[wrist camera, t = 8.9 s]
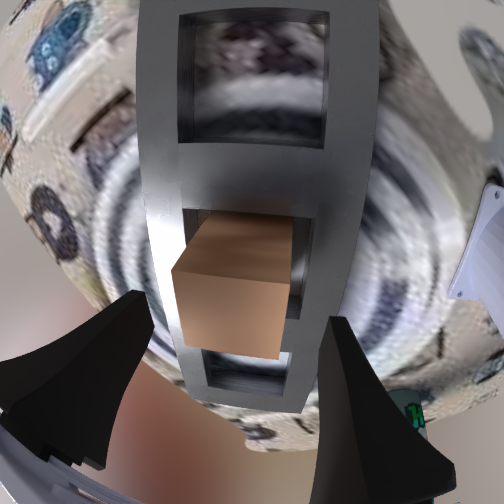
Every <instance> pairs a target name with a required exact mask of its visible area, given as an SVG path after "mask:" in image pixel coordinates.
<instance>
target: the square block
mask: <svg viewBox="0 0 504 504" xmlns="http://www.w3.org/2000/svg"><path fill="white" fill-rule="evenodd" d="M292 232H293V216H284V215H273V214H262V213H249V212H236V211H221V210H212V211H211V212H210V214H209V215H208V217H207V218H206V219H205V221H204V222H203V224H202V225H201V226H200V228H199V229H198V231H197V232H196V233H195V235H194V236H193V238H192V239H191V241H190V242H189V244H188V245H187V246H186V248H185V249H184V251H183V252H182V254H181V255H180V257H179V258H178V260H177V261H176V263H175V264H174V266H173V267H172V269H171V270H170V271H171V277H172V283H173V288H174V294H175V299H176V304H177V310H178V315H179V319H180V324H181V329H182V334H183V338H184V342H185V346H189V347H194V348H200V349H205V350H211V351H217V352H223V353H229V354H236V355H243V356H250V357H258V358H266V359H275V360H278V359H279V353H280V347H281V341H282V335H283V329H284V323H285V316H286V310H287V303H288V296H289V289H290V279H291V258H292Z"/></svg>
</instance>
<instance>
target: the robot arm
mask: <svg viewBox="0 0 504 504" xmlns="http://www.w3.org/2000/svg"><path fill="white" fill-rule="evenodd" d="M496 191H497V194H496V196H495V193H496ZM447 293H448V296H449V298H450V299H460V300H481V301H482V303H483V304H484V306H485V308H486V309H487V311H488V312H489V314H490V316H491V317H492V319H493V321H494V323H495V324H496V326H497V328H498V330H499V332H500V333H501V335H502V337H503V339H504V188H503V187H501V186H498V185H496V184H493V183H488V184H487V185H486V186H485V188H484V192H483V196H482V199H481V203H480V207H479V210H478V214H477V217H476V220H475V223H474V226H473V230H472V232H471V235H470V238H469V241H468V244H467V247H466V249H465V252H464V254H463V257H462V260H461V262H460V264H459V267H458V269H457V272H456V274H455V276H454V279H453V281H452V283H451V285H450V287H449V289H448V292H447ZM154 327H155V326H154V323H153V320H152V316H151V313H150V310H149V306H148V302H147V299H146V295H145V292H143V291H138V290H131V291H129V292H128V293H126V294H125V295H123V296H122V297H120V298H119V299H117V300H116V301H115V302H113V303H112V304H110V305H109V306H108V307H106V308H105V309H103V310H102V311H101V312H99V313H98V314H96V315H95V316H94V317H92V318H91V319H89V320H88V321H86V322H85V323H83V324H82V325H80V326H79V327H77V328H76V329H74V330H73V331H71V332H69V333H68V334H66V335H65V336H63V337H61V338H59V339H57V340H56V341H54V342H52V343H50V344H48V345H45V346H43V347H41V348H39V349H37V350H35V351H32V352H30V353H27V354H25V355H22V356H19V357H16V358H13V359H9V360H5V361H1V362H0V408H1V409H2V410H3V412H2V414H1V413H0V483H1V484H2V486H3V487H4V488H5V490H6V491H7V492H8V494H9V495H10V496H11V498H12V499H13V500H14V501H15V503H16V504H105V503H107V504H144V503H142V502H139V501H137V500H134V499H132V498H129V497H127V496H125V495H123V494H120V493H118V492H116V491H114V490H112V489H110V488H108V487H106V486H104V485H101V484H100V483H98V482H96V481H94V480H92V479H90V478H89V477H87V476H85V475H83V474H82V473H80V472H78V471H77V470H75V469H73V468H72V467H71V465H72V463H75V464H77V465H78V466H81V464H82V462H83V463H85V464H87V465H89V466H91V467H92V468H94V469H96V470H98V471H99V470H103V469H105V466H106V458H107V452H108V446H109V441H110V437H111V432H112V428H113V424H114V421H115V418H116V414H117V411H118V408H119V405H120V403H121V400H122V397H123V394H124V392H125V390H126V387H127V386H128V384H129V382H130V380H131V378H132V376H133V374H134V372H135V370H136V368H137V366H138V364H139V362H140V360H141V359H142V357H143V355H144V353H145V351H146V349H147V347H148V344H149V341H150V339H151V336H152V333H153V330H154ZM317 376H318V395H319V417H320V433H319V444H318V454H317V462H316V469H315V476H314V482H313V488H312V493H311V498H310V503H309V504H431V499H432V498H435V497H437V496H440V495H443V494H445V493H447V492H450V491H452V490H454V489H455V488H456V486H457V485H456V473H455V467H454V464H453V463H452V462H451V461H450V460H449V459H447V458H446V457H445V456H444V455H443V454H441V453H440V452H439V451H438V450H436V449H435V448H434V447H433V446H432V445H431V444H430V443H429V442H428V441H427V440H426V439H425V438H424V437H423V436H422V435H421V434H420V433H419V431H418V430H417V429H416V428H415V427H414V426H413V425H412V424H411V422H410V421H409V420H408V419H407V418H406V417H405V415H404V414H403V413H402V412H401V410H400V409H399V408H398V406H397V405H396V404H395V402H394V401H393V400H392V398H391V397H390V395H389V394H388V392H387V391H386V390H385V388H384V386H383V385H382V383H381V382H380V380H379V378H378V377H377V375H376V374H375V372H374V370H373V369H372V367H371V365H370V363H369V361H368V360H367V358H366V356H365V354H364V352H363V351H362V349H361V347H360V345H359V343H358V341H357V339H356V337H355V335H354V333H353V331H352V329H351V327H350V325H349V322H348V320H347V319H346V317H340V316H329V318H328V322H327V325H326V328H325V332H324V335H323V338H322V341H321V345H320V348H319V353H318V373H317ZM78 488H80V489H81V490H83V491H85V492H87V493H88V494H90V495H92V496H94V497H96V498H97V499H99V500H101V501H103V502H105V503H103V502H101V501H99V500H97V499H95V498H92V497H90V496H88V495H85V494H83V493H81V492H79V490H78ZM454 504H460V502H457V503H454Z"/></svg>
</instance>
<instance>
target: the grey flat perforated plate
mask: <svg viewBox="0 0 504 504" xmlns="http://www.w3.org/2000/svg"><path fill="white" fill-rule="evenodd" d="M236 21H288V22H302V23H313V24H322V25H325V48H324V80H323V100H322V117H321V131H320V143H314V142H305V141H294V140H282V139H266V138H243V137H194V111H193V84H194V41H195V25H202V24H211V23H221V22H236ZM379 65H380V29H379V7H378V0H140V8H139V19H138V32H137V50H136V114H137V134H138V149H139V160H140V171H141V180H142V189H143V197H144V205H145V212H146V219H147V225H148V231H149V237H150V243H151V249H152V254H153V260H154V265H155V270H156V275H157V279H158V284H159V289H160V293H161V297H162V302H163V306H164V310H165V314H166V318H167V322H168V326H169V330H170V334H171V337H172V341H173V344H174V348H175V352H176V355H177V358H178V362H179V365H180V368H181V371H182V375H183V378H184V381H185V384H186V387H187V390H188V393H189V396H190V398H193V399H197V400H202V401H207V402H212V403H217V404H223V405H229V406H235V407H241V408H248V409H256V410H265V411H274V412H285V413H299V414H301V412H302V410H303V408H304V405H305V403H306V400H307V398H308V395H309V393H310V390H311V388H312V385H313V383H314V380H315V378H316V375H317V372H318V353H319V348H320V345H321V341H322V338H323V335H324V332H325V328H326V325H327V322H328V318H329V316H337V313H338V310H339V306H340V303H341V300H342V296H343V293H344V289H345V285H346V282H347V278H348V274H349V270H350V266H351V262H352V258H353V254H354V250H355V246H356V241H357V237H358V232H359V228H360V223H361V218H362V213H363V208H364V203H365V197H366V192H367V186H368V180H369V173H370V167H371V160H372V152H373V145H374V136H375V127H376V116H377V104H378V89H379ZM197 209H206V210H221V211H236V212H249V213H262V214H273V215H284V216H295V217H305V218H312V219H311V226H310V234H309V241H308V248H307V255H306V262H305V268H304V274H303V281H302V287H301V293H300V297H299V296H288V303H287V310H286V316H285V323H284V329H283V335H282V341H281V347H280V352H289V357H288V362H287V366H286V371H285V376H284V377H278V376H269V375H260V374H252V373H245V372H238V371H231V370H225V369H219V368H214V367H213V360H212V353H211V350H205V349H200V348H194V347H189V346H185V342H184V338H183V334H182V329H181V324H180V319H179V315H178V310H177V304H176V299H175V294H174V288H173V283H172V277H171V271H170V270H171V269H172V267H173V266H174V264H175V263H176V261H177V260H178V258H179V257H180V255H181V254H182V252H183V251H184V249H185V248H186V246H187V245H188V244H189V242H190V241H191V239H192V238H193V236H194V235H195V233H196V232H197V231H198V216H197Z"/></svg>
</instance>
